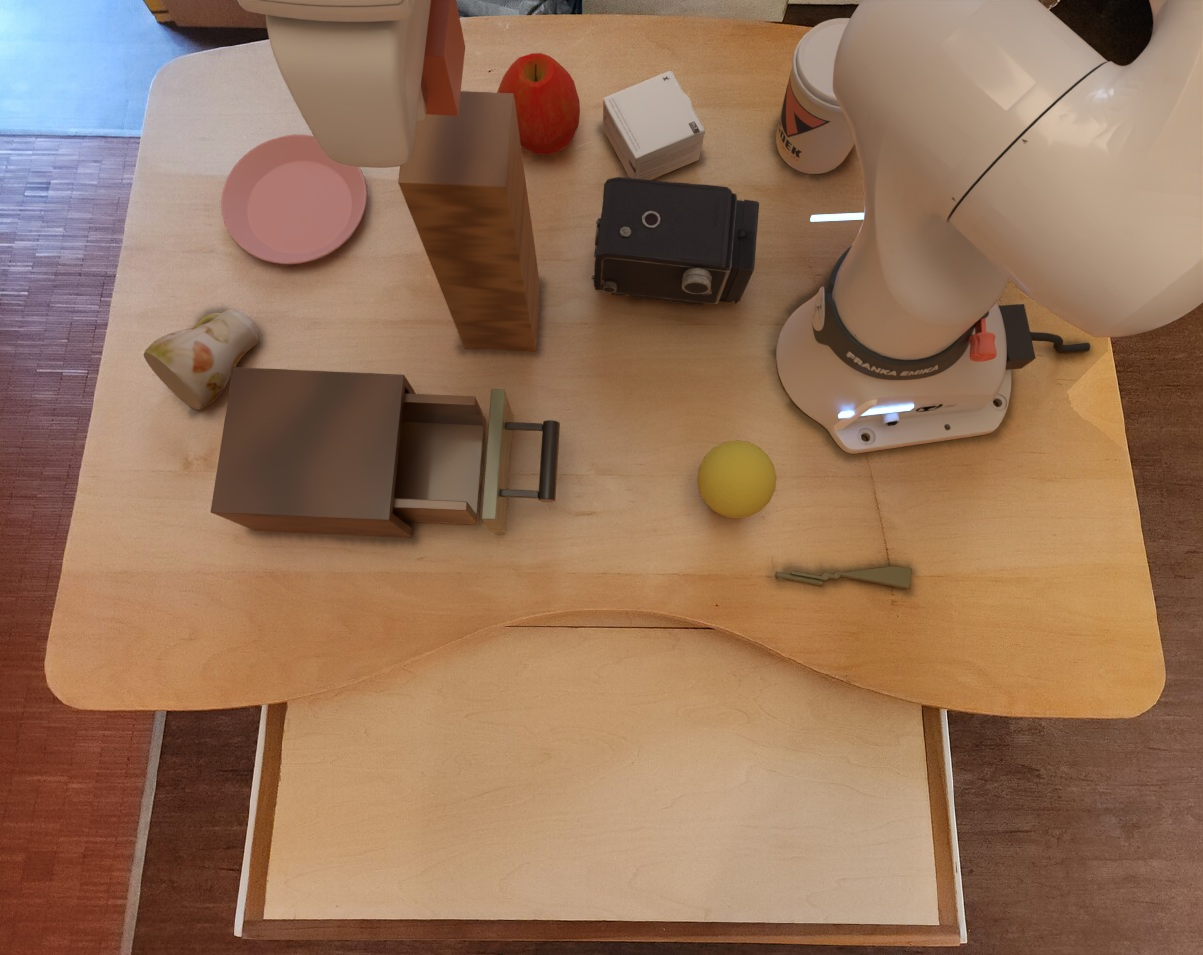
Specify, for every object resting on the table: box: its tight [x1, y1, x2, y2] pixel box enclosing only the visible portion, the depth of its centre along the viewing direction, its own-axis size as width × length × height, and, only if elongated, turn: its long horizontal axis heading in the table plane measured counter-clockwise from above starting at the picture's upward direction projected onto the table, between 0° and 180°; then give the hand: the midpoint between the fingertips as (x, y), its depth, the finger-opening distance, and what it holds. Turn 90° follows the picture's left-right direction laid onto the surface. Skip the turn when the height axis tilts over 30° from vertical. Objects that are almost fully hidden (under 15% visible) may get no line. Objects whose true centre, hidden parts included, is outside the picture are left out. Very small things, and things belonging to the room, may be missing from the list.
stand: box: [397, 90, 541, 352], centre depth 67 cm, size 7×7×28 cm
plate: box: [220, 134, 368, 265], centre depth 82 cm, size 14×14×2 cm
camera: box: [590, 176, 760, 306], centre depth 77 cm, size 11×11×15 cm
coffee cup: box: [775, 17, 855, 175], centre depth 80 cm, size 9×9×12 cm
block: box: [422, 0, 466, 116], centre depth 44 cm, size 4×4×4 cm
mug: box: [143, 309, 259, 410], centre depth 77 cm, size 8×10×10 cm
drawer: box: [392, 388, 561, 535], centre depth 73 cm, size 18×11×7 cm, turn 88°
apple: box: [496, 52, 581, 156], centre depth 80 cm, size 8×8×11 cm
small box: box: [602, 70, 706, 181], centre depth 83 cm, size 8×8×5 cm
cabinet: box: [210, 366, 417, 539], centre depth 73 cm, size 15×13×9 cm
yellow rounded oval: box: [696, 439, 777, 519], centre depth 72 cm, size 7×7×10 cm
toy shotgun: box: [775, 565, 913, 590], centre depth 75 cm, size 12×2×1 cm, turn 88°
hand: (417, 62), depth 44 cm, fingers closed on block, 4 cm apart
